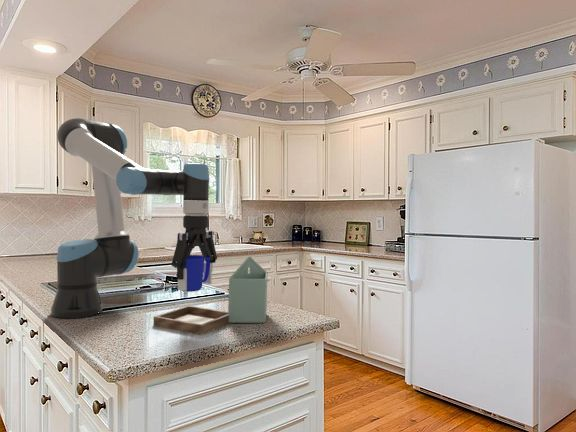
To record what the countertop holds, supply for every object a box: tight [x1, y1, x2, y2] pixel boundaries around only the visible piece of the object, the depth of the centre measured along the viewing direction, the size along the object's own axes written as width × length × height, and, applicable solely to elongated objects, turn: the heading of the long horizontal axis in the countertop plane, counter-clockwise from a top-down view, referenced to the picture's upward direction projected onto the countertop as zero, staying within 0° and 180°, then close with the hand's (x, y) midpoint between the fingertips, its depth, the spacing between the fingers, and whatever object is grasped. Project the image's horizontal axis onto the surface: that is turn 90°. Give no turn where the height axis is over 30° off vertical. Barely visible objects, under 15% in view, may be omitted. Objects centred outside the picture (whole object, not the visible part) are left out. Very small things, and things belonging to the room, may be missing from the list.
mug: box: [180, 254, 210, 293], centre depth 133 cm, size 8×12×10 cm
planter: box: [227, 255, 268, 324], centre depth 138 cm, size 16×8×20 cm, turn 138°
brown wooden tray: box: [152, 305, 230, 335], centre depth 134 cm, size 18×16×3 cm
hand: (195, 286), depth 134 cm, fingers closed on mug, 11 cm apart
